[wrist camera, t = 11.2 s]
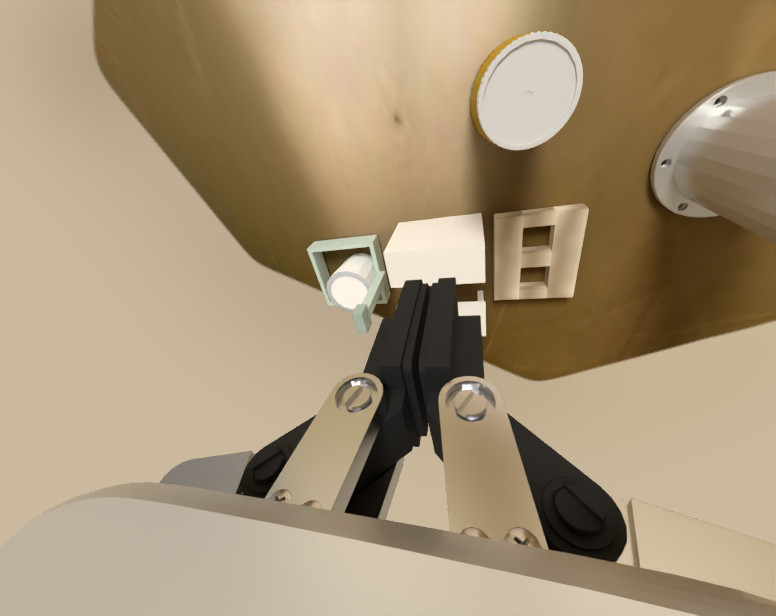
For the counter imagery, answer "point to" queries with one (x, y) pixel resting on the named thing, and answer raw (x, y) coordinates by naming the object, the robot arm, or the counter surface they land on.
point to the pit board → (538, 252)
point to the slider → (378, 288)
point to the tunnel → (440, 255)
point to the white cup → (351, 281)
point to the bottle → (526, 90)
